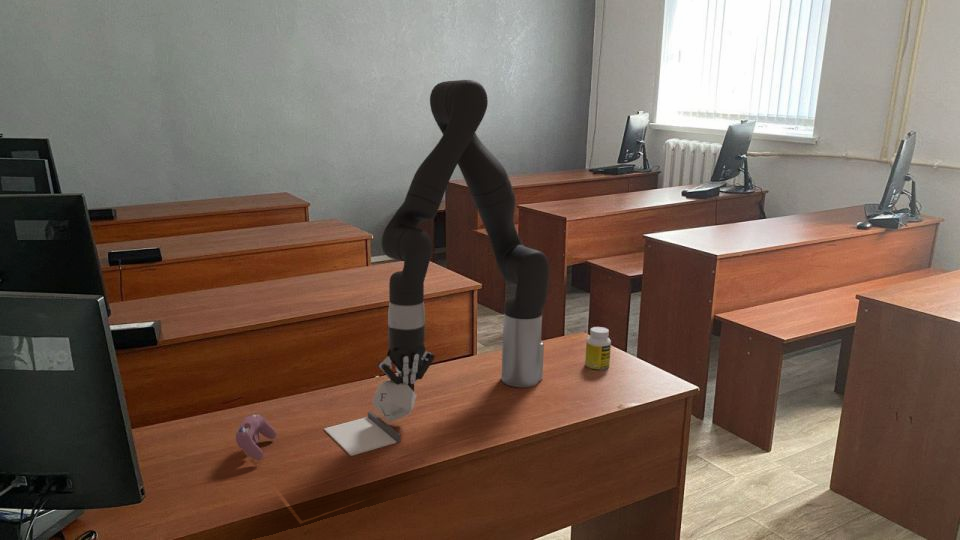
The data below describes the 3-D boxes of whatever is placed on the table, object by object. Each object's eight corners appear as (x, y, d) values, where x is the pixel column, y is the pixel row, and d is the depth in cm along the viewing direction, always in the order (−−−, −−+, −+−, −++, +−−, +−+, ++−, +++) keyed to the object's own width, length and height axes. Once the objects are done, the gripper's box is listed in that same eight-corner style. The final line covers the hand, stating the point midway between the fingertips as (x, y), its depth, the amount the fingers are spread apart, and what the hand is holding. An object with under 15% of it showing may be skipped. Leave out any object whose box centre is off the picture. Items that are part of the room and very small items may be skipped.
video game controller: (257, 440, 147) (246, 410, 145) (278, 436, 146) (267, 405, 145) (240, 466, 137) (228, 433, 135) (263, 460, 137) (250, 428, 135)
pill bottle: (603, 376, 182) (606, 335, 179) (580, 371, 185) (583, 330, 182) (612, 369, 187) (615, 328, 184) (590, 363, 190) (593, 324, 187)
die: (379, 431, 153) (357, 396, 149) (399, 402, 159) (379, 367, 155) (410, 431, 148) (389, 395, 144) (430, 401, 155) (409, 366, 151)
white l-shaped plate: (371, 417, 157) (371, 410, 156) (400, 441, 147) (400, 434, 146) (324, 429, 151) (324, 423, 150) (351, 456, 140) (350, 449, 140)
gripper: (424, 312, 155) (424, 386, 160) (369, 322, 148) (370, 400, 152) (443, 321, 149) (442, 398, 154) (386, 332, 142) (387, 413, 146)
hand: (406, 399), depth 153 cm, fingers closed
